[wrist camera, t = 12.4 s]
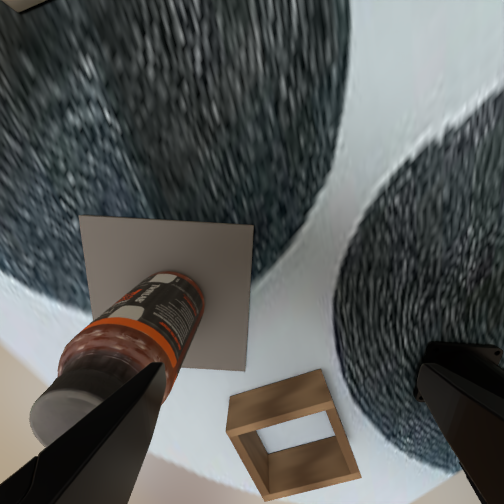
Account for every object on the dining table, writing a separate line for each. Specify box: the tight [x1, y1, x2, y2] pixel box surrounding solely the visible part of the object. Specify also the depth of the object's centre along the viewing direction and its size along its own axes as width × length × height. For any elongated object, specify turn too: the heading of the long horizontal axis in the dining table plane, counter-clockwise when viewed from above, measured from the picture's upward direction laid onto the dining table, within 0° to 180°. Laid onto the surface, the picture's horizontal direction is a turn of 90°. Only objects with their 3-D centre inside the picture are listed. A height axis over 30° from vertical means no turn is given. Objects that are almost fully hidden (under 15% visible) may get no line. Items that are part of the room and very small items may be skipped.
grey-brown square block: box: [79, 215, 254, 371], centre depth 21 cm, size 14×14×1 cm
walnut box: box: [226, 369, 362, 502], centre depth 23 cm, size 10×10×4 cm
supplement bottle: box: [30, 271, 204, 447], centre depth 15 cm, size 6×6×11 cm
